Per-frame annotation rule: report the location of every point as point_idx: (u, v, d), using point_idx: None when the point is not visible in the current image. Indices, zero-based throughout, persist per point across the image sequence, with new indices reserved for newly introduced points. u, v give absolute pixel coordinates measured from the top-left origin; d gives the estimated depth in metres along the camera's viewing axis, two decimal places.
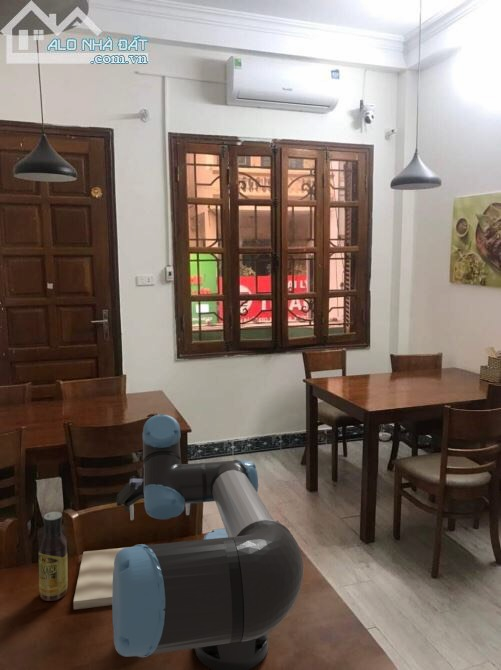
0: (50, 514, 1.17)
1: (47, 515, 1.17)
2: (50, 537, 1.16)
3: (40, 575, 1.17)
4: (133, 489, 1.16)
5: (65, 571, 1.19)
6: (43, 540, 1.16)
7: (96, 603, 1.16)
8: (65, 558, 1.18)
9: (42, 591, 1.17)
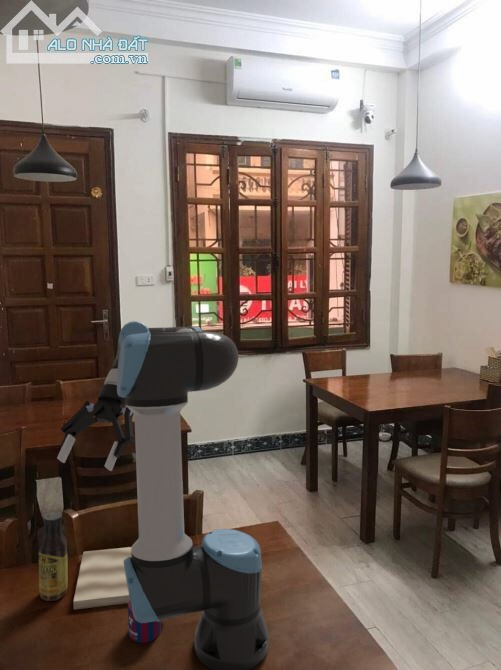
0: (50, 514, 1.17)
1: (47, 515, 1.17)
2: (50, 537, 1.16)
3: (40, 575, 1.17)
4: (85, 407, 1.34)
5: (65, 571, 1.19)
6: (43, 540, 1.16)
7: (96, 603, 1.16)
8: (65, 558, 1.18)
9: (42, 591, 1.17)
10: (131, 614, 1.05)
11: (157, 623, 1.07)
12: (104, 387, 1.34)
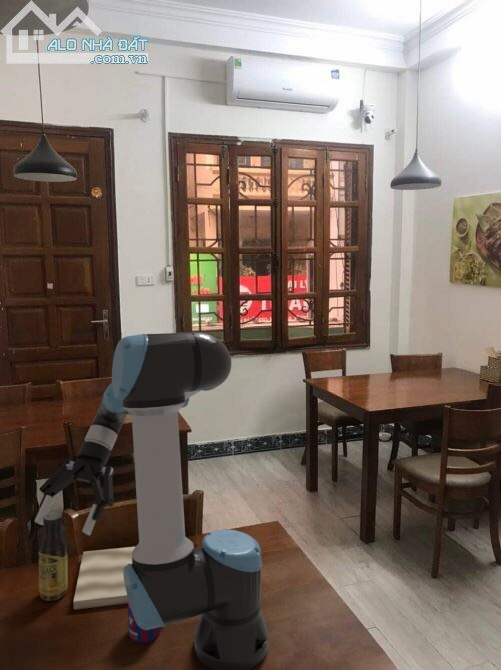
0: (50, 514, 1.17)
1: (47, 515, 1.17)
2: (50, 537, 1.16)
3: (40, 575, 1.17)
4: (64, 465, 1.31)
5: (65, 571, 1.19)
6: (43, 540, 1.16)
7: (96, 603, 1.16)
8: (65, 558, 1.18)
9: (42, 591, 1.17)
10: (131, 614, 1.05)
11: None
12: (84, 445, 1.31)
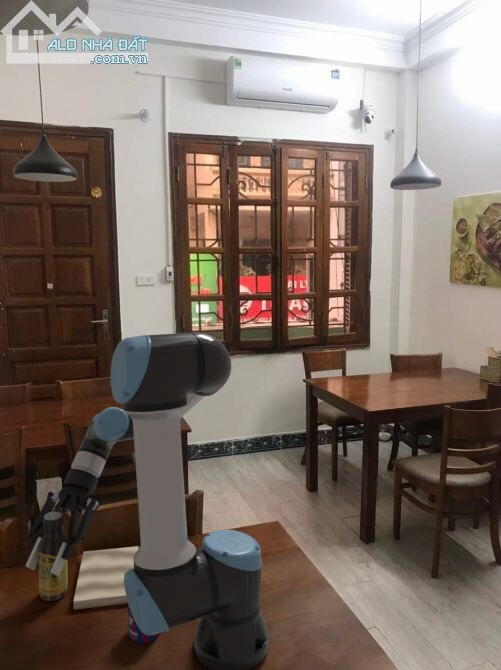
0: (50, 514, 1.17)
1: (48, 515, 1.17)
2: (50, 537, 1.16)
3: (40, 575, 1.17)
4: (49, 499, 1.25)
5: (65, 571, 1.19)
6: (43, 540, 1.16)
7: (96, 603, 1.16)
8: None
9: (42, 591, 1.17)
10: (131, 614, 1.05)
11: None
12: (70, 473, 1.25)
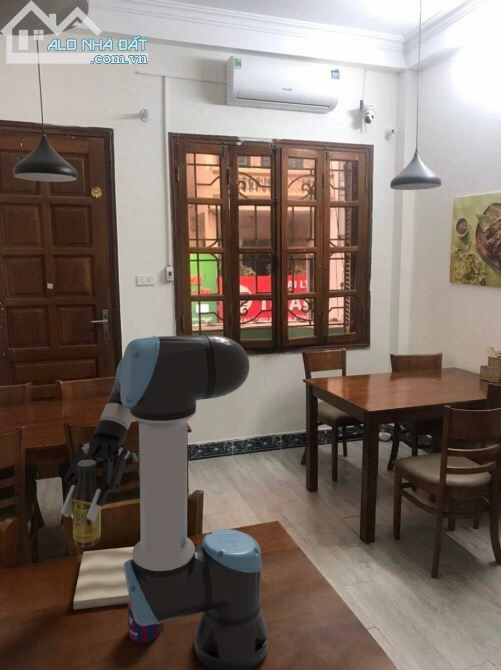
0: (84, 462, 1.18)
1: (82, 463, 1.18)
2: (85, 483, 1.17)
3: (75, 521, 1.18)
4: (80, 449, 1.25)
5: (99, 518, 1.20)
6: (78, 487, 1.17)
7: (96, 603, 1.16)
8: None
9: (77, 537, 1.18)
10: (131, 614, 1.05)
11: None
12: (100, 423, 1.26)
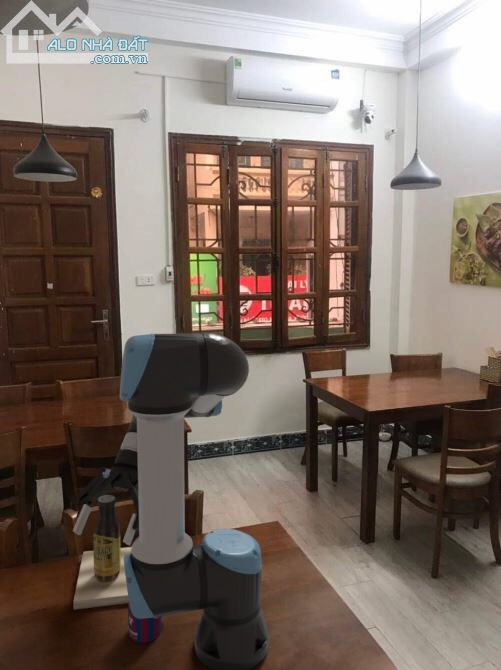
0: (103, 497, 1.22)
1: (101, 498, 1.21)
2: (105, 518, 1.20)
3: (96, 556, 1.21)
4: (100, 473, 1.29)
5: (119, 552, 1.23)
6: (98, 522, 1.21)
7: (96, 603, 1.16)
8: (119, 539, 1.22)
9: (98, 571, 1.21)
10: (131, 614, 1.05)
11: (157, 623, 1.07)
12: (121, 453, 1.29)
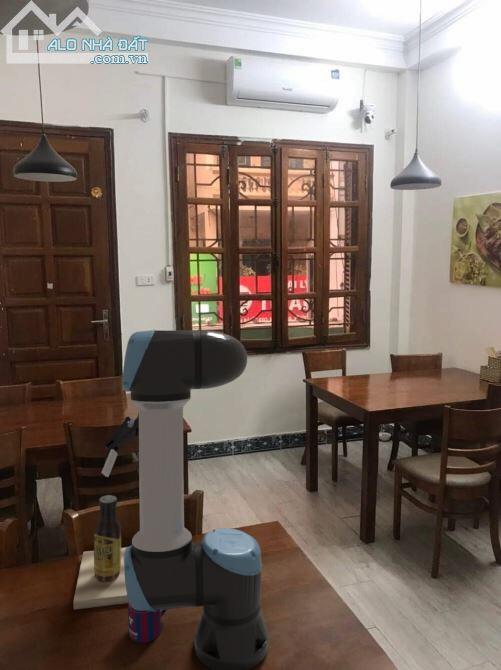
0: (105, 498, 1.22)
1: (103, 499, 1.21)
2: (106, 519, 1.20)
3: (96, 556, 1.21)
4: (125, 422, 1.39)
5: (119, 553, 1.23)
6: (99, 522, 1.21)
7: (96, 603, 1.16)
8: (119, 540, 1.22)
9: (98, 571, 1.21)
10: (131, 614, 1.05)
11: (157, 623, 1.07)
12: None
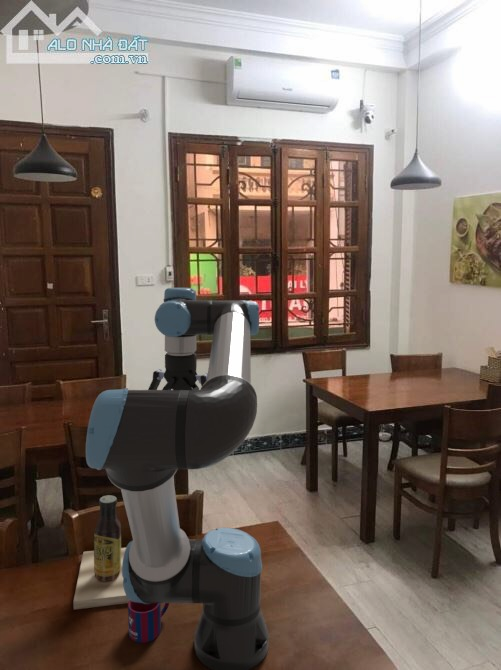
0: (105, 498, 1.22)
1: (103, 499, 1.21)
2: (106, 519, 1.20)
3: (96, 556, 1.21)
4: (155, 379, 1.24)
5: (119, 553, 1.23)
6: (99, 522, 1.21)
7: (96, 603, 1.16)
8: (119, 540, 1.22)
9: (98, 571, 1.21)
10: (131, 614, 1.05)
11: (157, 623, 1.07)
12: (168, 361, 1.20)
